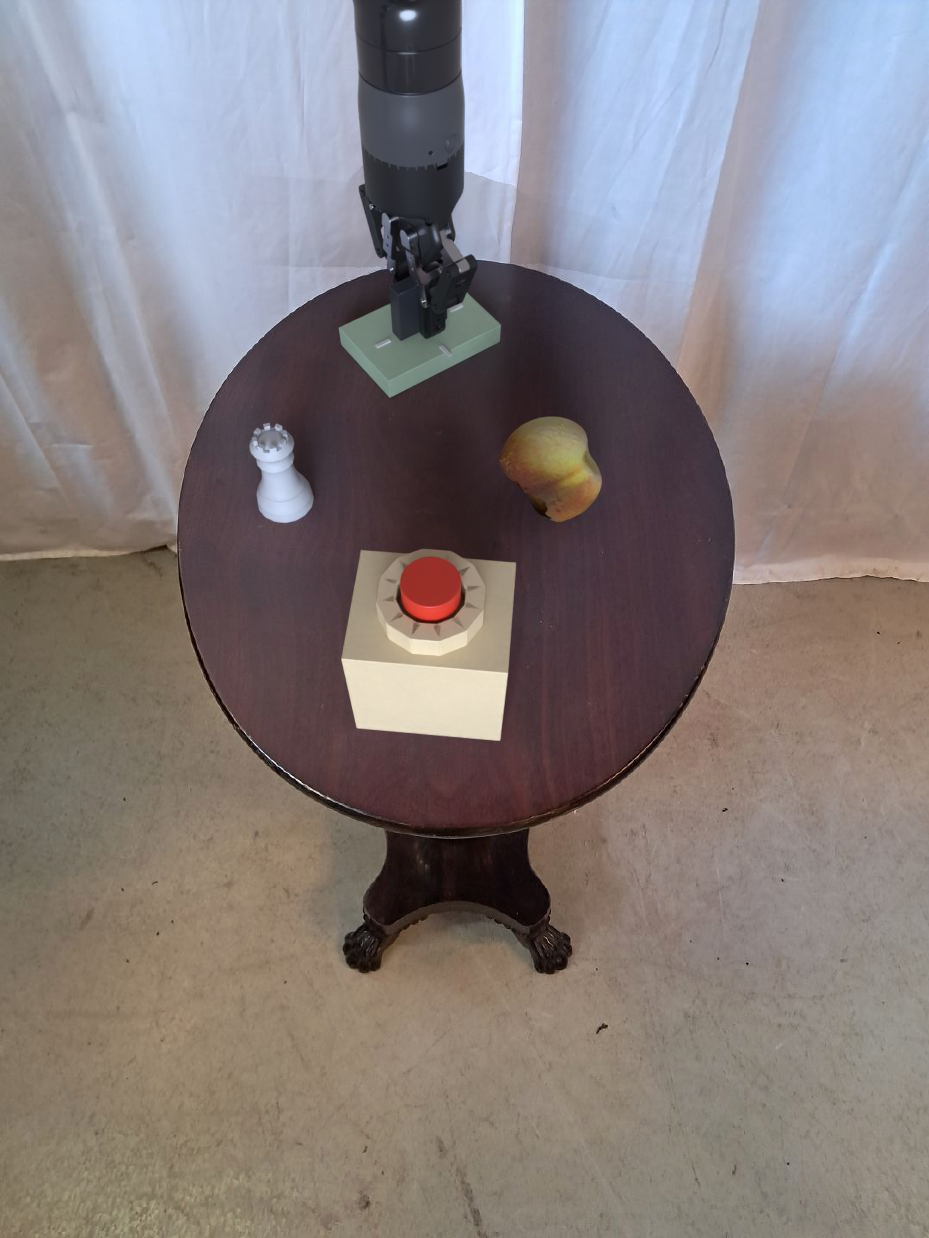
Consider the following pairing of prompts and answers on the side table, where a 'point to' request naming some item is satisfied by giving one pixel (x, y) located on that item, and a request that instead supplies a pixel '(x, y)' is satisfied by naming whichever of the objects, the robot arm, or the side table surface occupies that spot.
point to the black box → (406, 307)
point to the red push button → (430, 589)
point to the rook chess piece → (279, 476)
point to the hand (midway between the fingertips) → (419, 320)
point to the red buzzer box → (429, 650)
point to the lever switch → (417, 345)
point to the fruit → (552, 466)
